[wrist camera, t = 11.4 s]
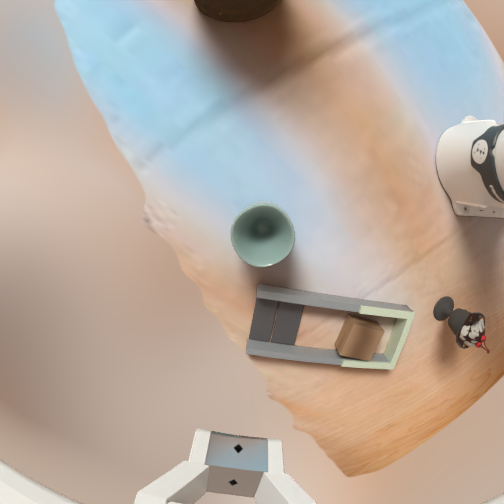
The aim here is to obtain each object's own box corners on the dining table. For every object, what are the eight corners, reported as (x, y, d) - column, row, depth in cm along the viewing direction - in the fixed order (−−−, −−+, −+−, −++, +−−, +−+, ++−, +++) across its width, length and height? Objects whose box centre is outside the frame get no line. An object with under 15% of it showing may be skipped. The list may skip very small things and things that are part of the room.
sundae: (446, 327, 50) (487, 365, 36) (424, 318, 50) (465, 358, 35) (462, 298, 49) (507, 330, 34) (440, 287, 48) (487, 320, 34)
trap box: (406, 305, 49) (415, 313, 46) (387, 359, 52) (393, 369, 48) (258, 283, 49) (258, 291, 45) (246, 344, 51) (245, 355, 48)
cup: (296, 235, 47) (306, 249, 37) (252, 258, 48) (250, 278, 38) (272, 189, 45) (276, 192, 36) (227, 214, 46) (218, 223, 37)
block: (376, 321, 50) (384, 331, 46) (363, 349, 52) (369, 361, 48) (347, 313, 50) (353, 324, 46) (334, 343, 51) (339, 355, 47)
